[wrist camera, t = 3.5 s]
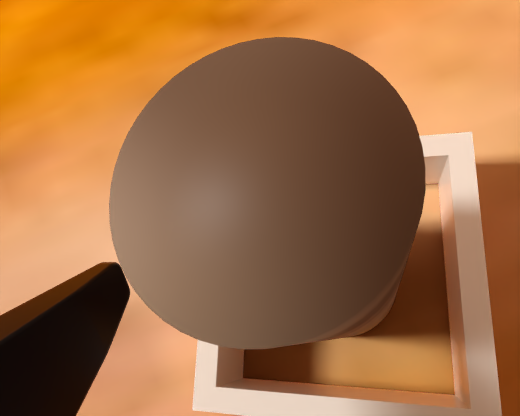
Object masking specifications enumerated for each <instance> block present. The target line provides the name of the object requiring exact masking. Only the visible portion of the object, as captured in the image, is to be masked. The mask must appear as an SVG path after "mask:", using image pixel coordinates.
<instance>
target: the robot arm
mask: <svg viewBox="0 0 520 416" xmlns="http://www.w3.org/2000/svg"><path fill="white" fill-rule="evenodd" d="M129 297H130V289H129V286H128V283H127V281H126V278H125V276H124V273H123V271H122V268H121V266H120V265H119V264H118V263H116V262H102V263H99V264H97V265H95V266H94V267H92V268H90V269H88V270H86V271H84V272H82V273H80V274H78V275H76V276H75V277H73V278H71V279H69V280H67V281H65V282H63V283H61V284H59V285H57V286H56V287H54V288H52V289H50V290H48V291H46V292H44V293H42V294H40V295H38V296H37V297H35V298H33V299H31V300H29V301H27V302H25V303H23V304H21V305H19V306H18V307H16V308H14V309H12V310H10V311H8V312H6V313H4V314H2V315H0V416H76V415H77V413H78V411H79V409H80V407H81V405H82V403H83V401H84V399H85V397H86V395H87V393H88V391H89V389H90V387H91V385H92V383H93V381H94V379H95V377H96V375H97V373H98V371H99V369H100V367H101V365H102V364H103V361H104V359H105V357H106V355H107V353H108V351H109V348H110V346H111V344H112V341H113V338H114V336H115V333H116V331H117V328H118V326H119V323H120V321H121V318H122V315H123V313H124V310H125V308H126V305H127V303H128V300H129Z"/></svg>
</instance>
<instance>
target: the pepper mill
mask: <svg viewBox="0 0 520 416" xmlns="http://www.w3.org/2000/svg"><path fill="white" fill-rule="evenodd" d="M424 196H425V161H424V154H423V147H422V143H421V140H420V137H419V133H418V130H417V127H416V124H415V122H414V120H413V118H412V116H411V114H410V112H409V110H408V108H407V106H406V104H405V103H404V101H403V100H402V98H401V97H400V95H399V94H398V93H397V91H396V90H395V89H394V87H393V86H392V85H391V84H390V83H389V82H388V81H387V80H386V79H385V78H384V77H383V76H382V75H381V74H380V73H379V72H378V71H376V70H375V69H374V68H373V67H371V66H370V65H369V64H368V63H366V62H365V61H363V60H361V59H360V58H358V57H356V56H355V55H353V54H351V53H349V52H347V51H345V50H342V49H340V48H337V47H335V46H333V45H329V44H326V43H322V42H318V41H315V40H308V39H301V38H286V37H275V38H264V39H256V40H251V41H247V42H242V43H238V44H235V45H232V46H229V47H226V48H223V49H221V50H218V51H216V52H214V53H212V54H209V55H207V56H205V57H203V58H202V59H200V60H198V61H196V62H195V63H193V64H191V65H190V66H188V67H187V68H185V69H184V70H183V71H181V72H180V73H179V74H177V75H176V76H174V77H173V78H172V79H171V80H170V81H169V82H168V83H167V84H166V85H164V86H163V87H162V88H161V89H160V90H159V91H158V92H157V93H156V95H155V96H154V97H153V98H152V99H151V100H150V101H149V102H148V103H147V105H146V106H145V108H144V109H143V110H142V112H141V113H140V114H139V116H138V117H137V119H136V120H135V122H134V124H133V126H132V127H131V129H130V131H129V132H128V134H127V136H126V139H125V141H124V143H123V145H122V148H121V150H120V152H119V156H118V159H117V162H116V165H115V168H114V173H113V178H112V182H111V189H110V201H109V214H110V227H111V234H112V240H113V244H114V247H115V251H116V254H117V257H118V260H119V262H120V265H121V267H122V269H123V271H124V274H125V276H126V278H127V279H128V281H129V282H130V284H131V286H132V287H133V289H134V290H135V292H136V293H137V294H138V296H139V297H140V298H141V299H142V300H143V301H144V303H145V304H146V305H147V306H148V307H149V308H150V309H151V310H152V311H153V312H154V313H155V314H157V315H158V316H159V317H160V318H161V319H162V320H163V321H165V322H166V323H168V324H169V325H171V326H173V327H174V328H176V329H177V330H179V331H180V332H182V333H185V334H187V335H189V336H191V337H193V338H196V339H198V340H200V341H203V342H207V343H210V344H214V345H217V346H221V347H229V348H236V349H269V348H276V347H283V346H290V345H296V344H303V343H310V342H317V341H323V340H330V339H337V338H344V337H350V336H356V335H360V334H363V333H365V332H367V331H369V330H371V329H373V328H374V327H376V326H377V325H378V324H379V323H380V322H381V321H382V320H383V319H384V318H385V317H386V316H387V314H388V313H389V311H390V309H391V307H392V305H393V303H394V300H395V297H396V293H397V290H398V287H399V284H400V281H401V278H402V275H403V272H404V268H405V265H406V262H407V259H408V256H409V253H410V250H411V247H412V243H413V240H414V237H415V234H416V231H417V227H418V224H419V221H420V218H421V214H422V209H423V202H424Z"/></svg>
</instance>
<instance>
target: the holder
mask: <svg viewBox="0 0 520 416" xmlns="http://www.w3.org/2000/svg"><path fill="white" fill-rule="evenodd" d="M419 137H420V140H421V143H422V147H423V154H424V161H425V184H438V186H439V199H440V211H441V224H442V237H443V249H444V262H445V275H446V287H447V300H448V312H449V325H450V338H451V350H452V363H453V375H454V388H455V395H451V394H438V393H425V392H413V391H400V390H387V389H375V388H362V387H349V386H337V385H324V384H311V383H299V382H286V381H273V380H261V379H248V378H243V365H244V349H236V348H229V347H221V346H217V345H214V344H210V343H207V342H203V341H200V340H198V344H197V357H196V370H195V383H194V396H193V409H192V410H196V411H205V412H215V413H224V414H234V415H243V416H502V410H501V400H500V391H499V382H498V372H497V363H496V353H495V344H494V335H493V325H492V316H491V306H490V297H489V288H488V278H487V269H486V259H485V250H484V240H483V231H482V222H481V212H480V203H479V193H478V184H477V175H476V165H475V156H474V146H473V137H472V132H463V133H451V134H438V135H425V136H419Z"/></svg>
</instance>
